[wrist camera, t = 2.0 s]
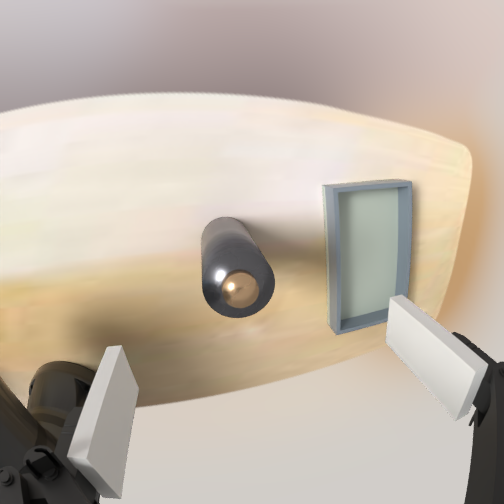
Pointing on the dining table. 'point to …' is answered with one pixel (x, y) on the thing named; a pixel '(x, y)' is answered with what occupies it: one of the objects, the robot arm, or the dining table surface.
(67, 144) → the dining table surface
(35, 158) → the dining table surface
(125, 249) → the dining table surface
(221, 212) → the dining table surface
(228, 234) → the cell
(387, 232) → the trough
